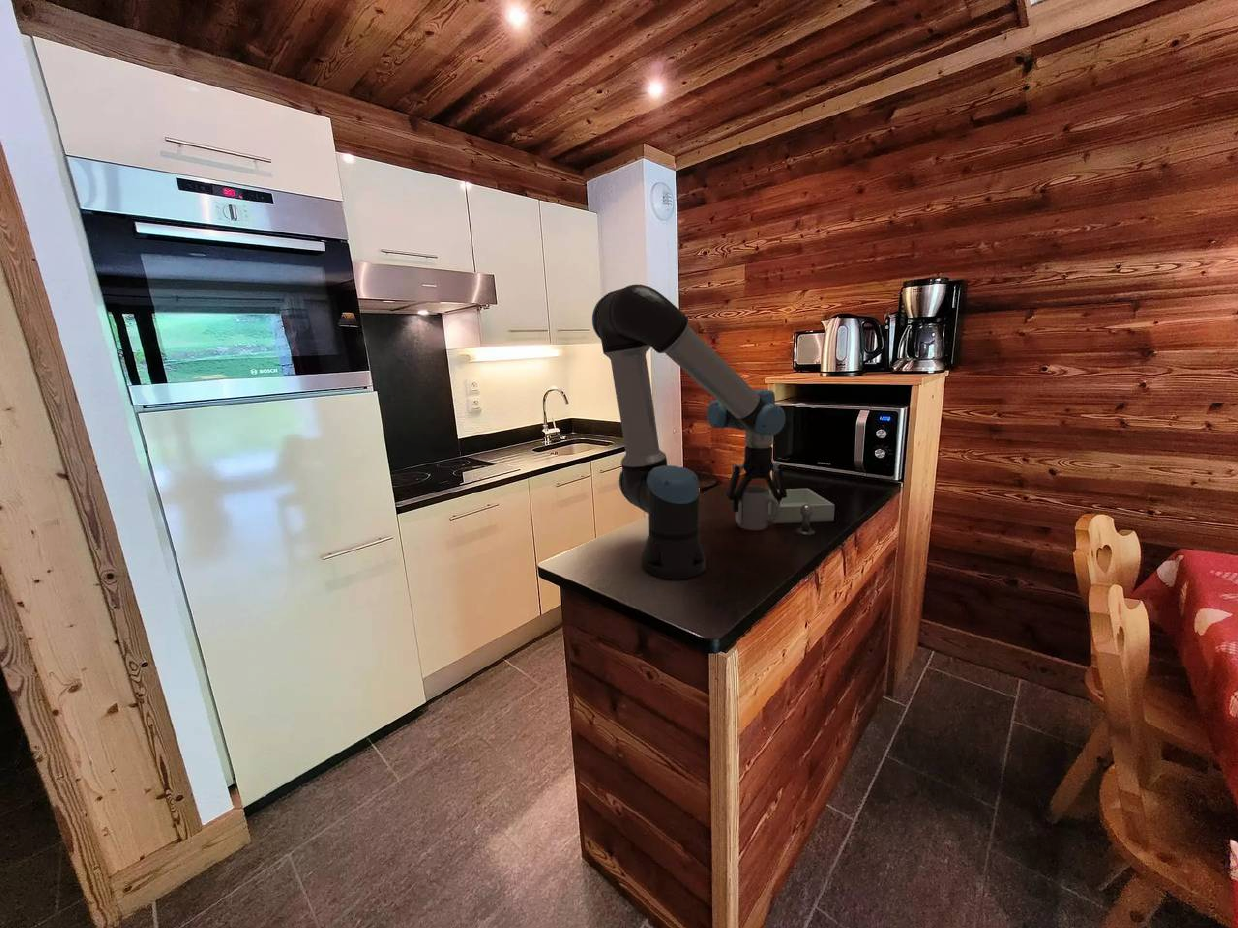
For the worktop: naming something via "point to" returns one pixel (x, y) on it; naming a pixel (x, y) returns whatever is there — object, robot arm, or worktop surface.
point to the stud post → (806, 520)
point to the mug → (756, 508)
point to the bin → (798, 498)
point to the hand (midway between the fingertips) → (755, 521)
